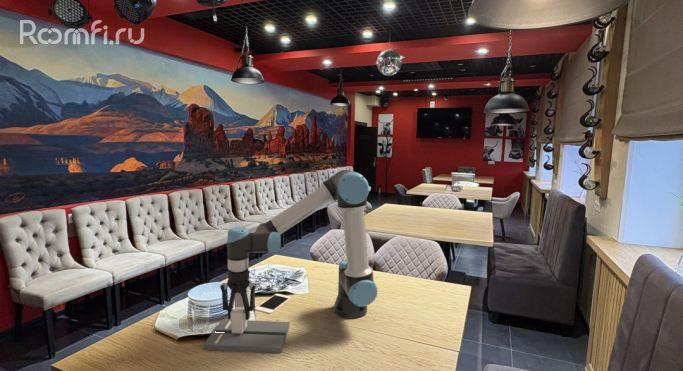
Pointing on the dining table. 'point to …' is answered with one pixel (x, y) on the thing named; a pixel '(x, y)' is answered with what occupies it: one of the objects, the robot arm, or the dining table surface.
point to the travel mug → (239, 298)
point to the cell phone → (273, 303)
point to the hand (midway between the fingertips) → (239, 326)
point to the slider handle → (237, 320)
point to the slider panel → (249, 337)
